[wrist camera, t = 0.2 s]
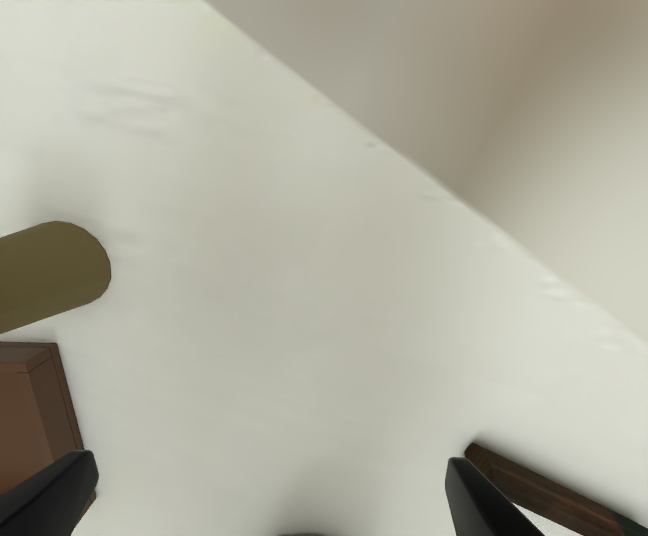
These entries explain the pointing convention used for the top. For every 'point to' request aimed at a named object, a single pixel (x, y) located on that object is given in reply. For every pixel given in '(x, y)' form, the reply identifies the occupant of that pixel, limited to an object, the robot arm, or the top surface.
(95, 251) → the cork
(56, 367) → the tray
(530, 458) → the top surface
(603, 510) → the kitchen knife
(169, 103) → the top surface
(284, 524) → the top surface
